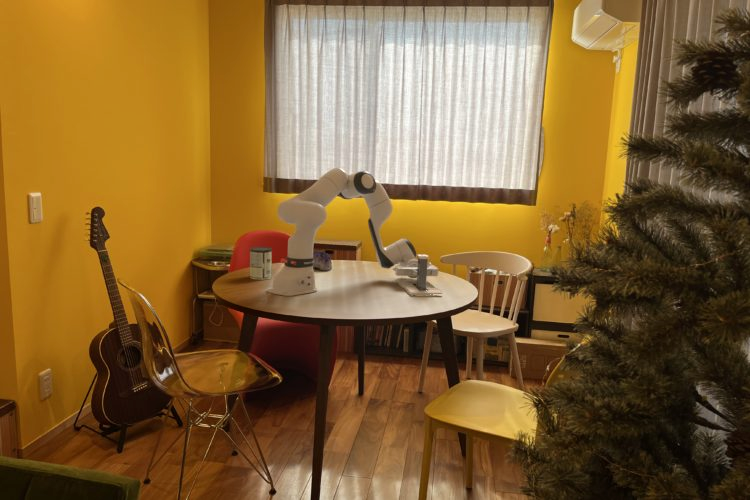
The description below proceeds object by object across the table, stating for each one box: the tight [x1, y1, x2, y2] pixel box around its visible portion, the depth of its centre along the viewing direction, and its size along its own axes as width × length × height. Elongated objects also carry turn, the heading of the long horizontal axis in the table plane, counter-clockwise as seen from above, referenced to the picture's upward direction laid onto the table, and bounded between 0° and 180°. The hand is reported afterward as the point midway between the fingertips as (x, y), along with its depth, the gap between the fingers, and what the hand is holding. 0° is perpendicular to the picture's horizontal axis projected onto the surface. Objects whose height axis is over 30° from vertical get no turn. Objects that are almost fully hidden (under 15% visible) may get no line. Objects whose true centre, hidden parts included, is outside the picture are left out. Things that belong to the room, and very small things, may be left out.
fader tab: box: [415, 254, 430, 291], centre depth 253 cm, size 4×4×16 cm
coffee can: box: [249, 246, 273, 281], centre depth 266 cm, size 10×10×14 cm
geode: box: [313, 249, 333, 272], centre depth 298 cm, size 20×12×10 cm, turn 28°
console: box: [396, 278, 443, 296], centre depth 259 cm, size 28×14×2 cm, turn 10°
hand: (420, 274), depth 255 cm, fingers closed, pressing on fader tab
